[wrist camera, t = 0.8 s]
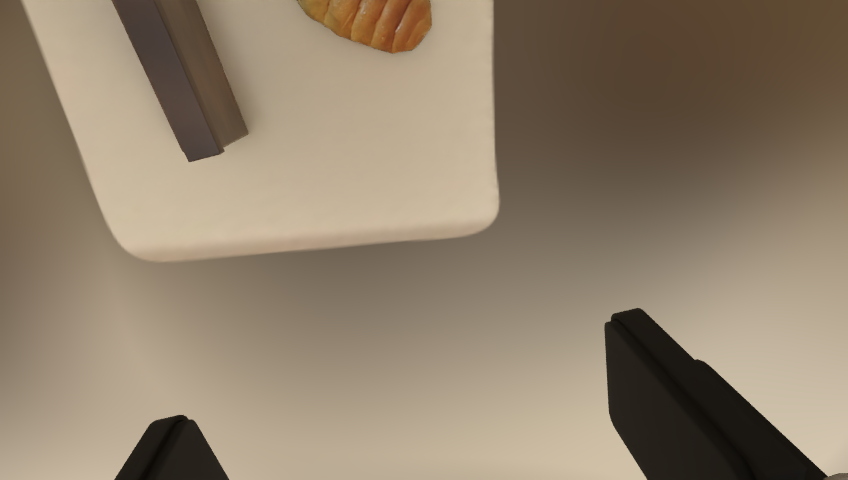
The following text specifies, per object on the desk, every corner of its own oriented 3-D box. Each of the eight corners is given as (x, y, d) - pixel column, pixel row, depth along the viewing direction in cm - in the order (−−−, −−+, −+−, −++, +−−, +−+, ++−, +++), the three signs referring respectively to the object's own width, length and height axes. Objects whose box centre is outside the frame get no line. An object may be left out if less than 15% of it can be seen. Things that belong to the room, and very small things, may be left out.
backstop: (85, -77, 26) (-9, -120, 20) (161, -97, 26) (90, -147, 20) (190, 151, 32) (143, 174, 26) (252, 135, 32) (220, 154, 25)
